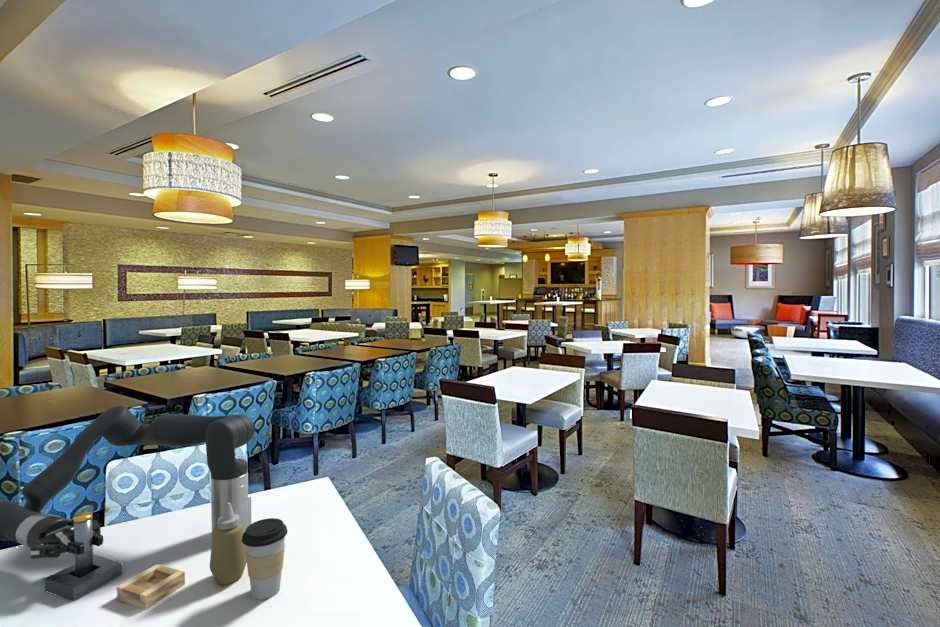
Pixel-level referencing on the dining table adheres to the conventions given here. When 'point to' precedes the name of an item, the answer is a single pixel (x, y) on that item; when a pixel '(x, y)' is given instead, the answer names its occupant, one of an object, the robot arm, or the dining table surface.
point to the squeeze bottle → (228, 548)
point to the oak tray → (150, 586)
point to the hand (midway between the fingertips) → (91, 545)
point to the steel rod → (84, 537)
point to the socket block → (83, 579)
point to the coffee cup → (265, 556)
